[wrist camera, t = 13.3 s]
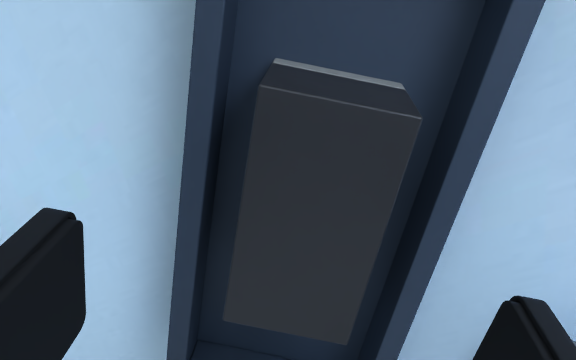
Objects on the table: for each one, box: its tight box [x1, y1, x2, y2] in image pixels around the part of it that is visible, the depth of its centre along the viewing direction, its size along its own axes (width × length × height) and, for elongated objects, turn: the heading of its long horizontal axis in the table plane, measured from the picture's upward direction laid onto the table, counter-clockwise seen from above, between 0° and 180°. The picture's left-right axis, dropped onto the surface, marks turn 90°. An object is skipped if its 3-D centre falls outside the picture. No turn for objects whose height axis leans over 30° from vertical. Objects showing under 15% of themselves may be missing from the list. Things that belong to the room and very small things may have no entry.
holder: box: [167, 0, 545, 360], centre depth 15 cm, size 9×20×2 cm, turn 170°
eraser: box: [223, 58, 423, 345], centre depth 14 cm, size 4×8×4 cm, turn 170°
